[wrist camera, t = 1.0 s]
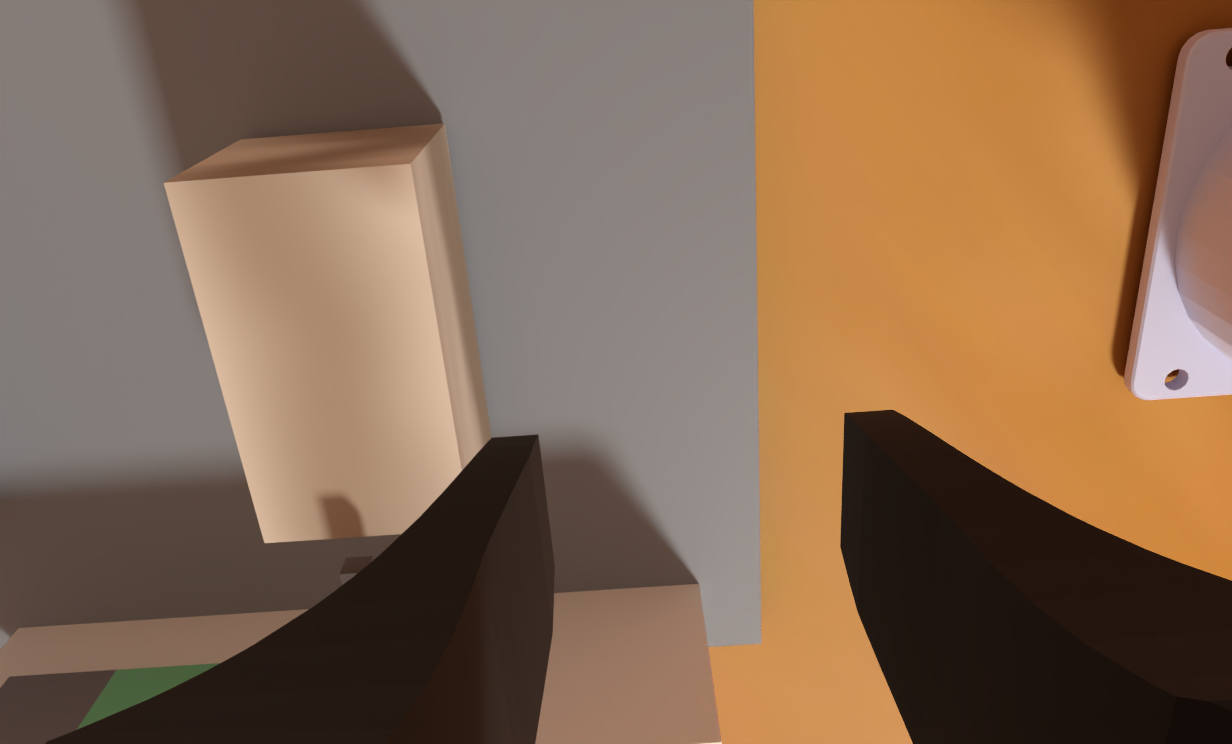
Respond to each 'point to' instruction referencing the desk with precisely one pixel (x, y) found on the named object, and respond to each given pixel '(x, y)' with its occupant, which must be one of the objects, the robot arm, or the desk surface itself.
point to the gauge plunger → (337, 324)
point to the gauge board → (503, 314)
